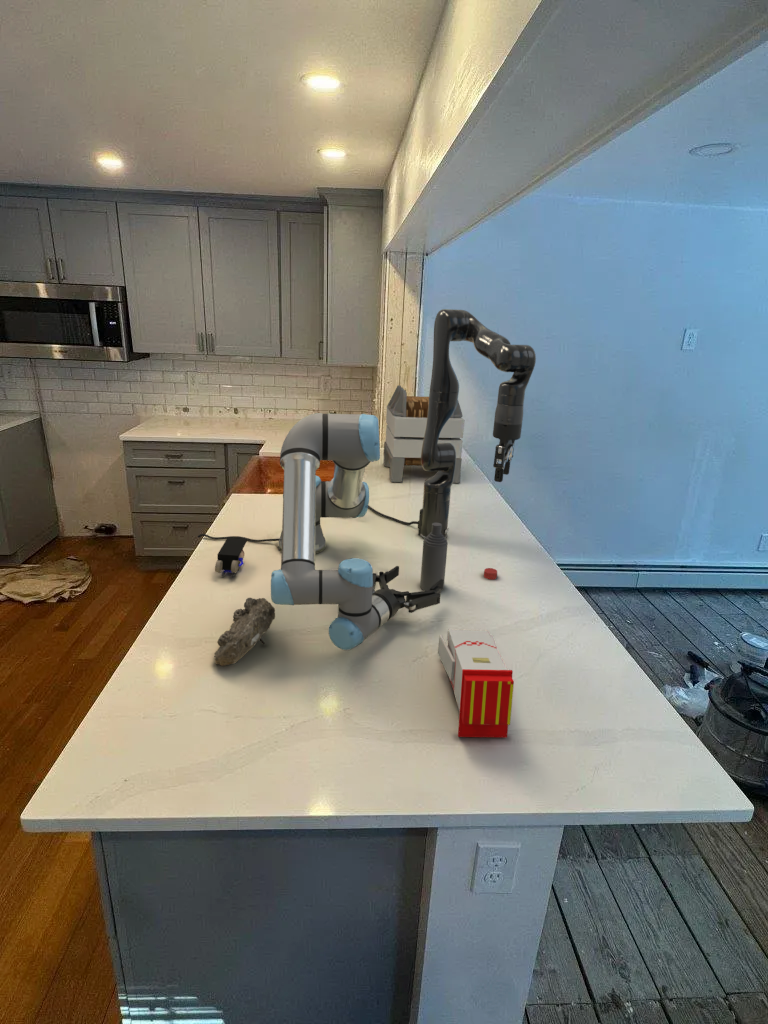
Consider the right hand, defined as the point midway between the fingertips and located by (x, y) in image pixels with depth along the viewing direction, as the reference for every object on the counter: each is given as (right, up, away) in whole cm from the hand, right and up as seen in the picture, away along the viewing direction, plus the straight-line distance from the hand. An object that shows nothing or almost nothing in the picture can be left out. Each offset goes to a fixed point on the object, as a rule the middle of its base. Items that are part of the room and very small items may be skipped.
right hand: (501, 477), depth 160 cm
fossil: (-65, -40, -28) cm, 81 cm away
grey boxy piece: (-16, +9, +115) cm, 116 cm away
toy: (-15, -47, -41) cm, 65 cm away
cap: (-1, -28, +10) cm, 29 cm away
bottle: (-20, -31, +3) cm, 37 cm away
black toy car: (-78, -27, +8) cm, 83 cm away
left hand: (-24, -27, -7) cm, 37 cm away
